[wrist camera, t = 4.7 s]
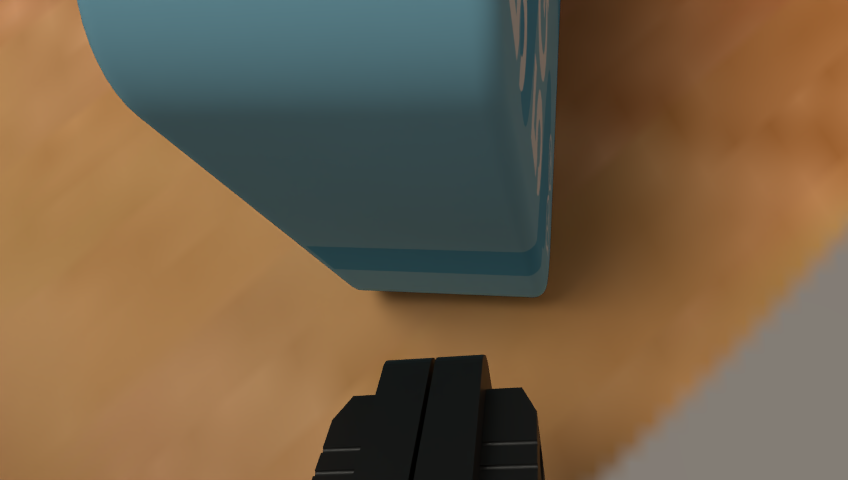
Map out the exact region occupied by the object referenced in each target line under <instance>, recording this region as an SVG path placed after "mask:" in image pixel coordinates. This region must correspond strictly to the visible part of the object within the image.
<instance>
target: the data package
mask: <svg viewBox="0 0 848 480" xmlns="http://www.w3.org/2000/svg"><path fill="white" fill-rule="evenodd" d="M77 2H78V7H79V11H80V15H81V19H82V23H83V26H84V29H85V32H86V35H87V38H88V41H89V44H90V46H91V48H92V51H93V53H94V55H95V58H96V60H97V62H98V64H99V66H100V68H101V70H102V71H103V73H104V75H105V77H106V79H107V80H108V82H109V83H110V85H111V86H112V88H113V89H114V91H115V92H116V94H117V95H118V96H119V97H120V98H121V99H122V101H123V102H124V103H125V104H126V105H127V106H128V107H129V108H130V109H131V110H132V111H133V112H134V113H135V114H136V115H137V116H139V117H140V118H141V119H142V120H144V121H145V122H146V123H147V124H149V125H150V126H151V127H152V128H154V129H155V130H156V131H157V132H159V133H160V134H161V135H162V136H164V137H165V138H166V139H167V140H169V141H170V142H171V143H172V144H174V145H175V146H176V147H177V148H179V149H180V150H181V151H183V152H184V153H185V154H186V155H188V156H189V157H190V158H191V159H193V160H194V161H195V162H196V163H198V164H199V165H200V166H201V167H203V168H204V169H205V170H206V171H208V172H209V173H210V174H211V175H213V176H214V177H215V178H216V179H218V180H219V181H220V182H221V183H223V184H224V185H225V186H226V187H228V188H229V189H230V190H232V191H233V192H234V193H235V194H237V195H238V196H239V197H240V198H242V199H243V200H244V201H245V202H247V203H248V204H249V205H250V206H252V207H253V208H254V209H255V210H257V211H258V212H259V213H260V214H262V215H263V216H264V217H265V218H267V219H268V220H269V221H270V222H272V223H273V224H274V225H276V226H277V227H278V228H279V229H281V230H282V231H283V232H284V233H286V234H287V235H288V236H289V237H291V238H292V239H293V240H294V241H296V242H297V243H298V244H299V245H301V246H302V247H303V248H304V249H306V250H307V251H308V252H309V253H311V254H312V255H313V256H314V257H316V258H317V259H318V260H319V261H321V262H322V263H323V264H325V265H326V266H327V267H328V268H330V269H331V270H332V271H333V272H335V273H336V274H337V275H338V276H340V277H341V278H342V279H343V280H345V281H346V282H347V283H348V284H350V285H351V286H352V287H354V288H356V289H358V290H371V291H395V292H419V293H442V294H466V295H489V296H513V297H538V296H540V295H541V294H543V292H544V291H545V289H546V286H547V281H548V273H549V260H550V240H551V216H552V191H553V167H554V142H555V118H556V93H557V69H558V44H559V20H560V0H77Z"/></svg>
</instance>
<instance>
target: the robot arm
mask: <svg viewBox="0 0 848 480" xmlns="http://www.w3.org/2000/svg"><path fill="white" fill-rule="evenodd" d="M312 480H545V475H544V467H543V459H542V451H541V442H540V434H539V426H538V418H537V411H536V409H535V408H534V406H533V404H532V403H531V401H530V400H529V398H528V397H527V395H526V393H525V392H524V390H523V389H522V387H521V388H501V389H492V386H491V380H490V373H489V367H488V362H487V358H486V355H471V356H454V357H438V358H436V360H435V358H423V359H406V360H389V361H386V362H385V364H384V366H383V370H382V373H381V377H380V380H379V384H378V388H377V391H376V395H365V396H353V397H352V398H351V400H350V401H349V402H348V403H347V404H346V405H345V406H344V408H343V409H342V410H341V411H340V412H339V413H338V414H337V415H336V417H335V418H334V419H333V420H332V423H331V425H330V428H329V431H328V434H327V437H326V440H325V443H324V446H323V453H321V455H320V457H319V460H318V463H317V466H316V469H315V476H313V478H312Z"/></svg>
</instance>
